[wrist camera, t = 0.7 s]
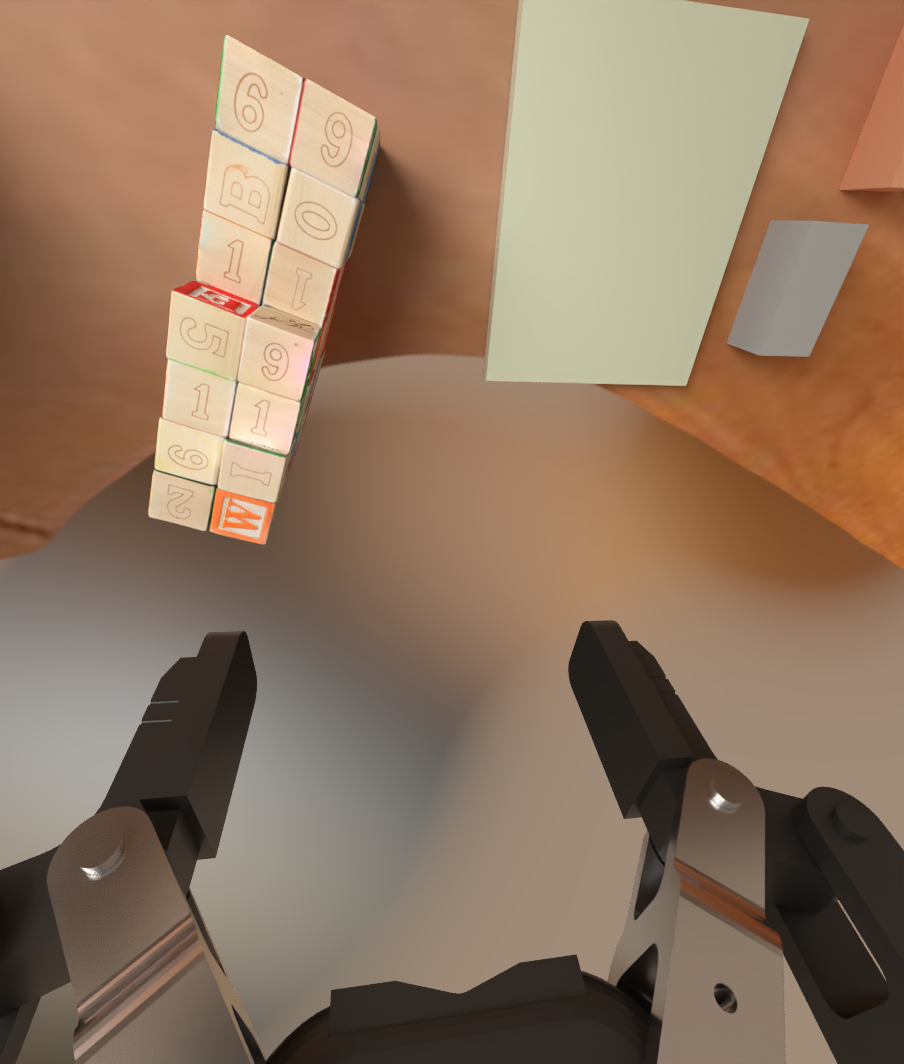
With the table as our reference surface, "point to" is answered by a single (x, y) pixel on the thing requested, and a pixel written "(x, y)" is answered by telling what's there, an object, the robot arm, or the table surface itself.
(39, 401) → the table surface
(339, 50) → the table surface
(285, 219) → the stack of blocks
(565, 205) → the sage baseplate
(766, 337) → the slate brick
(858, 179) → the terracotta brick
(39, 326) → the table surface
